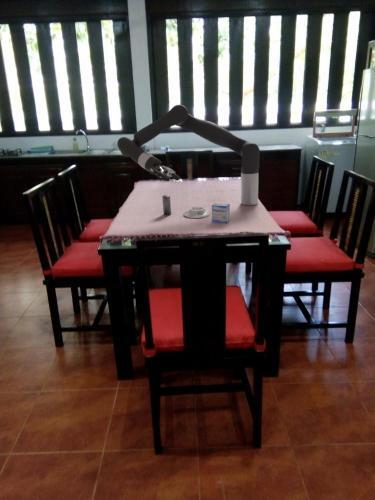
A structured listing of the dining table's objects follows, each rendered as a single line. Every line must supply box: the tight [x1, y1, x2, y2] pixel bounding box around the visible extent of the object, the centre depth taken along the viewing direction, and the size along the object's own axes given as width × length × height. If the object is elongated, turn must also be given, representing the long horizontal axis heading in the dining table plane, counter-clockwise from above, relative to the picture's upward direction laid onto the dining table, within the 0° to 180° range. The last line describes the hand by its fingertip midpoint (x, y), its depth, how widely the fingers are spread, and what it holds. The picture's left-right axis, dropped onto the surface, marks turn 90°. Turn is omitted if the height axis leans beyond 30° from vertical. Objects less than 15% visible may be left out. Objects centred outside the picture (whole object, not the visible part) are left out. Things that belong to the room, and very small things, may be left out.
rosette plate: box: [183, 206, 212, 219], centre depth 204 cm, size 14×14×3 cm
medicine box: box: [211, 203, 231, 224], centre depth 189 cm, size 8×4×9 cm, turn 68°
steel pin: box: [162, 194, 172, 216], centre depth 206 cm, size 4×4×10 cm
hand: (174, 179), depth 188 cm, fingers open, 8 cm apart
